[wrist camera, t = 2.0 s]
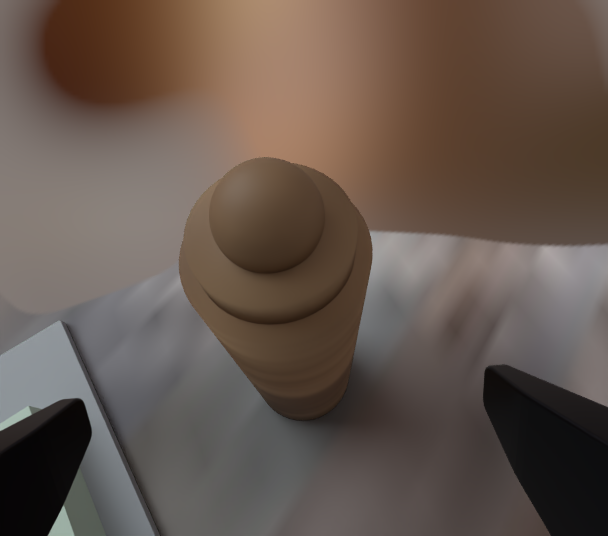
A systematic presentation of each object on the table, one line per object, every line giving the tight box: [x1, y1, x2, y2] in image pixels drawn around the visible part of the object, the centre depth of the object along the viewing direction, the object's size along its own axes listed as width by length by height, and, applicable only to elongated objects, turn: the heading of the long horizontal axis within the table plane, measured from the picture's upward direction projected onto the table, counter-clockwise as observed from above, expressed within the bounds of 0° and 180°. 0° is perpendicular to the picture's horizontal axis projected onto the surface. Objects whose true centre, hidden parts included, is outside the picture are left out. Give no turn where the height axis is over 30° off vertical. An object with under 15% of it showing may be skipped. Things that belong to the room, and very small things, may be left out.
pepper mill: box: [179, 157, 372, 420], centre depth 14 cm, size 5×5×14 cm
